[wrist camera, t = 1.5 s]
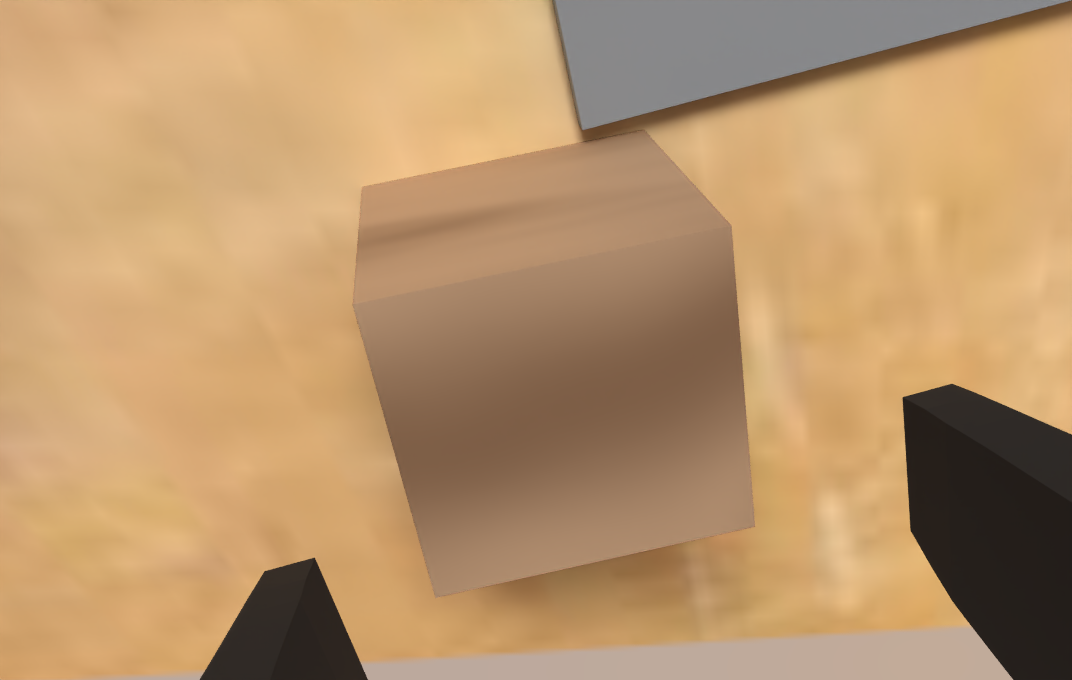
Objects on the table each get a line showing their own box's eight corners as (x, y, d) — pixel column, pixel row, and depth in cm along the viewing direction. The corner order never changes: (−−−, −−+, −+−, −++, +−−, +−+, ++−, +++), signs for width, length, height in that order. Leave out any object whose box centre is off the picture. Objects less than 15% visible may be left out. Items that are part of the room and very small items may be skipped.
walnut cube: (671, 372, 21) (754, 526, 17) (424, 425, 21) (435, 597, 16) (643, 128, 19) (731, 225, 14) (362, 186, 19) (352, 305, 14)
